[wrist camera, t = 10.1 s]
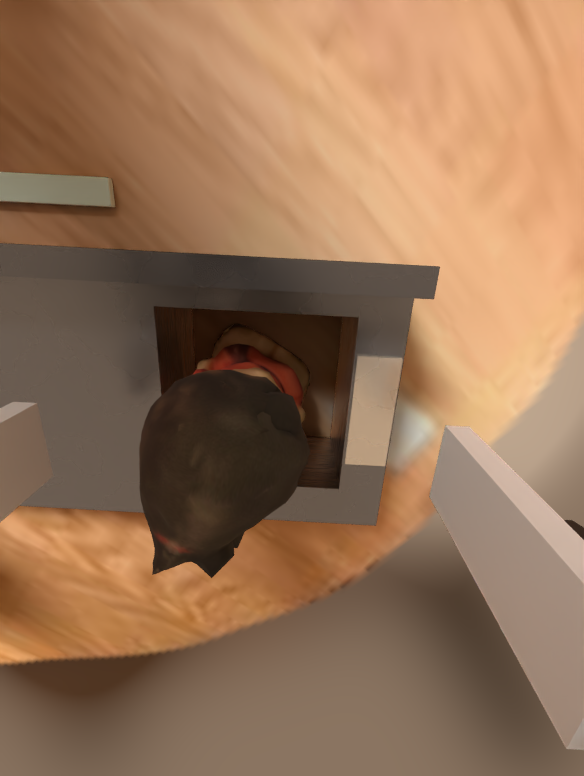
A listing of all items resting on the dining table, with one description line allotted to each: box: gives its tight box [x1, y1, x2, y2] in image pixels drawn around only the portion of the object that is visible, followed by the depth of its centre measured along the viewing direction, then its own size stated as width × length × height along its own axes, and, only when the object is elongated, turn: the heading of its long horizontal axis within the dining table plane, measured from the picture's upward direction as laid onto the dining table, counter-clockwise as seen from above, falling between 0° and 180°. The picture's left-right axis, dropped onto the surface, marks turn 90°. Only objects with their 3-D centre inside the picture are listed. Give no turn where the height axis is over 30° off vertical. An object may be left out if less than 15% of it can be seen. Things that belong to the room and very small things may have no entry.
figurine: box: [139, 324, 310, 578], centre depth 14 cm, size 6×6×12 cm
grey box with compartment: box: [0, 243, 440, 526], centre depth 16 cm, size 26×12×7 cm, turn 87°
